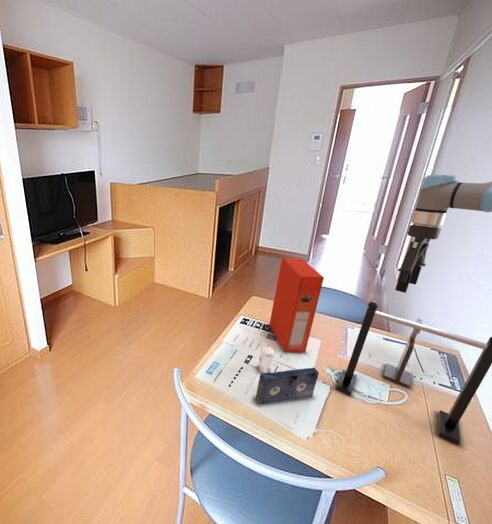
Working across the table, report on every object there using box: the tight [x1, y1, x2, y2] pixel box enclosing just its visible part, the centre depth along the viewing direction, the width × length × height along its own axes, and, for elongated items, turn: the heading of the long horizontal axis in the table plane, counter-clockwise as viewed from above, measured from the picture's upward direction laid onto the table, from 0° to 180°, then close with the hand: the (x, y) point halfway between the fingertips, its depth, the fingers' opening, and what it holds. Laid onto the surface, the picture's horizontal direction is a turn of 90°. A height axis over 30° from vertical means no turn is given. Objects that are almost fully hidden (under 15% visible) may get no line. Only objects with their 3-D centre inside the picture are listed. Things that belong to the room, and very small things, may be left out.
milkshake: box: [258, 342, 275, 374], centre depth 106 cm, size 4×5×10 cm
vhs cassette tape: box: [255, 367, 320, 405], centre depth 94 cm, size 18×3×10 cm, turn 98°
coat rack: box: [335, 301, 492, 446], centre depth 88 cm, size 29×10×32 cm, turn 48°
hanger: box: [383, 318, 424, 389], centre depth 101 cm, size 7×8×22 cm
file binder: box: [268, 257, 325, 353], centre depth 118 cm, size 8×17×32 cm, turn 177°
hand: (405, 287), depth 103 cm, fingers open, 13 cm apart
